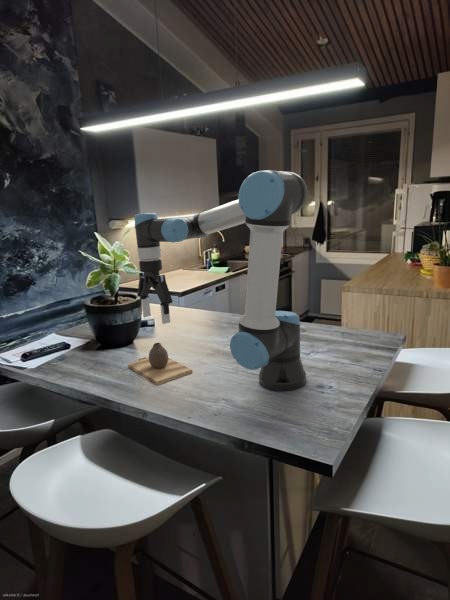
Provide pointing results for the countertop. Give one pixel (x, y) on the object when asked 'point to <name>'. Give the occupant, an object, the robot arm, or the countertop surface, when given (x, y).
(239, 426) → the countertop surface
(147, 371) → the board
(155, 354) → the vase
